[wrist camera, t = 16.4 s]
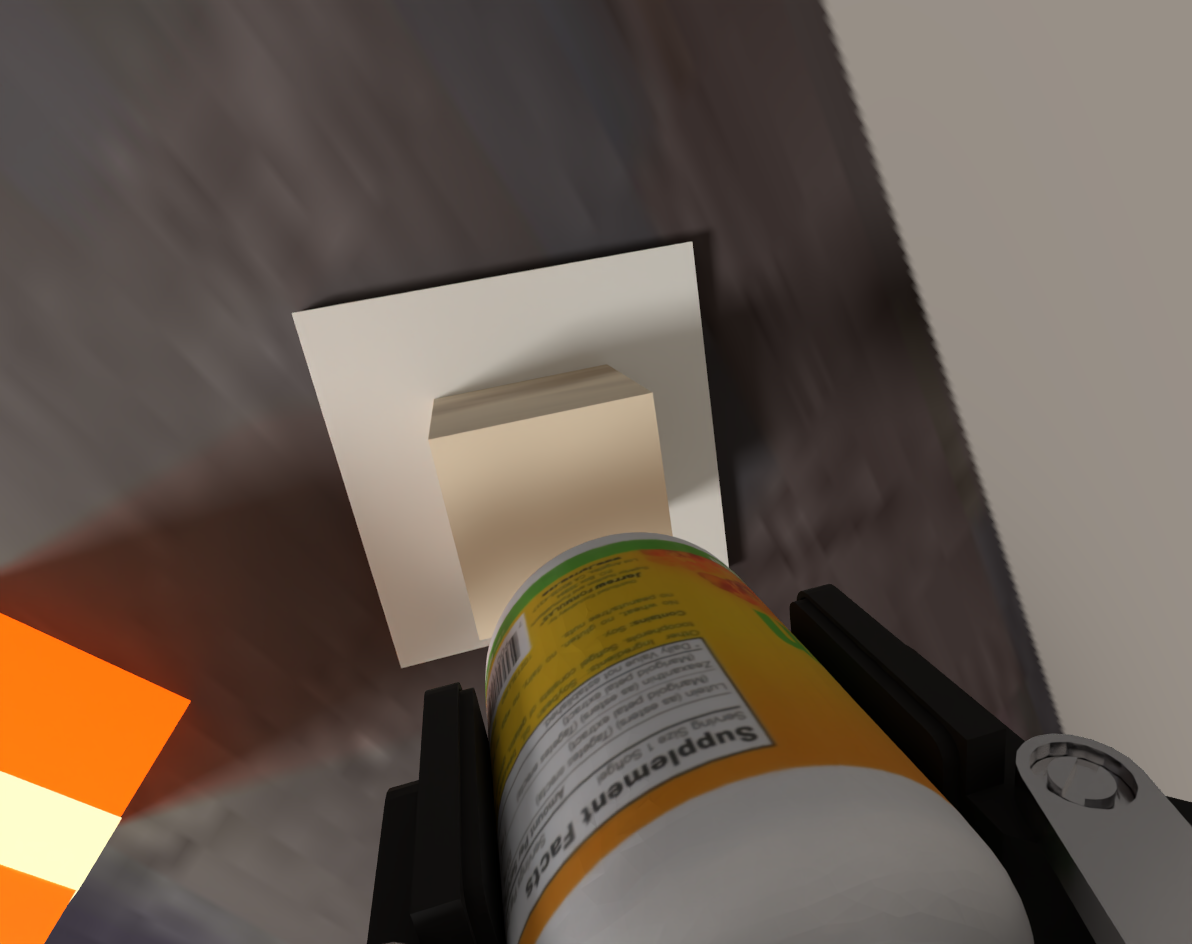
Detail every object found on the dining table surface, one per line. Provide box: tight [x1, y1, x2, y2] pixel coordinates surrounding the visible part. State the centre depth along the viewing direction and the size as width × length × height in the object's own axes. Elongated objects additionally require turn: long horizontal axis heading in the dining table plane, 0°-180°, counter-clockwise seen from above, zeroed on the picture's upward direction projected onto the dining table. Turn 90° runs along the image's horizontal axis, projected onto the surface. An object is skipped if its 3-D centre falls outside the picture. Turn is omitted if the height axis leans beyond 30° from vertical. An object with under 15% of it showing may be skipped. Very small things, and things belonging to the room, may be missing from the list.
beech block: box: [428, 364, 673, 640], centre depth 22 cm, size 6×6×6 cm
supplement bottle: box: [485, 532, 1034, 944], centre depth 8 cm, size 5×5×10 cm
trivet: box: [292, 242, 729, 668], centre depth 26 cm, size 14×14×1 cm
